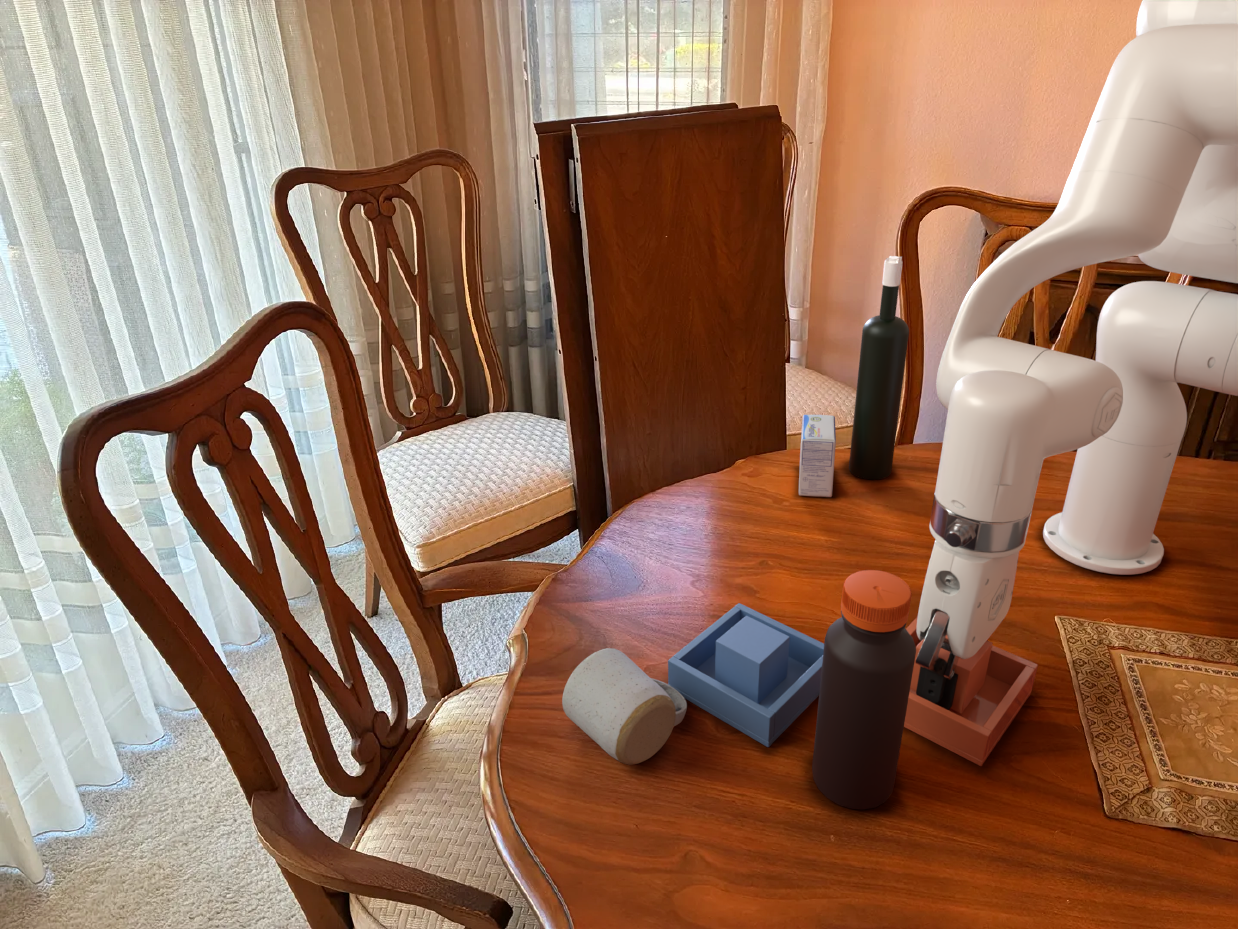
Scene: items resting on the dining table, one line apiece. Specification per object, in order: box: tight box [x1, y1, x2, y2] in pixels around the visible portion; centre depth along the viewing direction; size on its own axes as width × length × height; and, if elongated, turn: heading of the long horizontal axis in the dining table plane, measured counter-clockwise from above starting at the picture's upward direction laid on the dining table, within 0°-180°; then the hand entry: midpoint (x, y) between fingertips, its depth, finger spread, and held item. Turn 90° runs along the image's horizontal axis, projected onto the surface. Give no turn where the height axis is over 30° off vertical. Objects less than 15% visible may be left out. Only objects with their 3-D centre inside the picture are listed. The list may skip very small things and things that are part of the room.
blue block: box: [715, 616, 790, 704], centre depth 82 cm, size 5×5×5 cm
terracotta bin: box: [904, 615, 1039, 767], centre depth 80 cm, size 12×12×4 cm
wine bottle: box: [848, 255, 910, 481], centre depth 113 cm, size 6×6×30 cm
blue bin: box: [667, 602, 824, 748], centre depth 83 cm, size 12×12×4 cm
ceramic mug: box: [561, 647, 688, 766], centre depth 77 cm, size 11×8×8 cm
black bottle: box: [811, 569, 916, 810], centre depth 68 cm, size 7×7×20 cm
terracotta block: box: [910, 635, 993, 713], centre depth 79 cm, size 5×5×5 cm
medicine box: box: [798, 414, 837, 498], centre depth 115 cm, size 8×4×9 cm, turn 168°
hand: (947, 683), depth 80 cm, fingers closed on terracotta block, 5 cm apart
